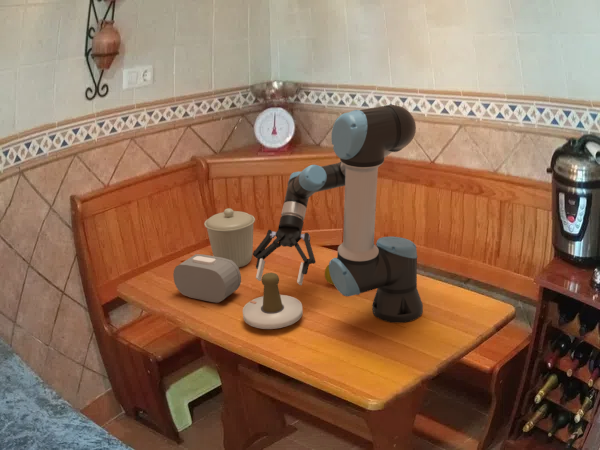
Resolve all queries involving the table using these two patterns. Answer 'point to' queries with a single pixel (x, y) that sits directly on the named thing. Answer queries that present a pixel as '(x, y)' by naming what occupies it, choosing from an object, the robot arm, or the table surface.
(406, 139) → the robot arm
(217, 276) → the alarm clock
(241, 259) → the canister
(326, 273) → the lemon
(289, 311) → the turntable
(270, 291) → the cork
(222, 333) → the table surface
